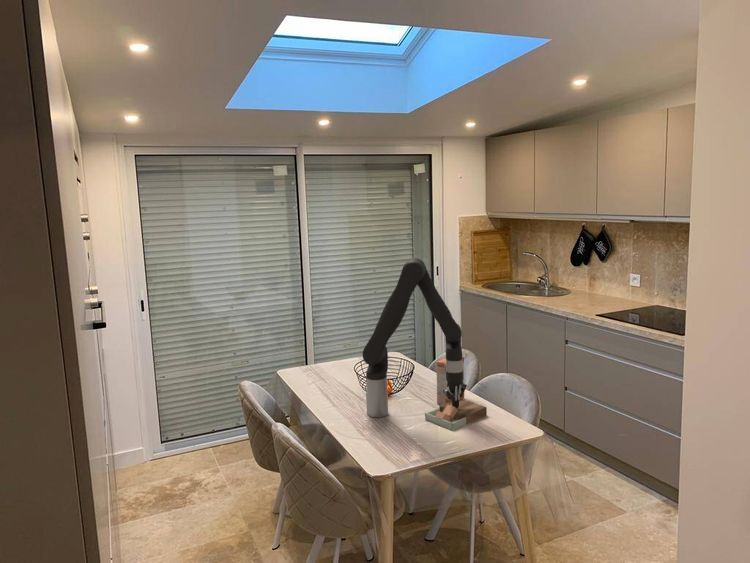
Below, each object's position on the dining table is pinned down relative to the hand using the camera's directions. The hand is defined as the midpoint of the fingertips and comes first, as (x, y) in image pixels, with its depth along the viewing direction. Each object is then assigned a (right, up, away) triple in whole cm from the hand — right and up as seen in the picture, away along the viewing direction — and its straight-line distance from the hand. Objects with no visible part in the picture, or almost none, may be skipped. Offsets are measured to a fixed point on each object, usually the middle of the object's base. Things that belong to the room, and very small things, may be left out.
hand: (455, 407), depth 237 cm
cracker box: (+1, -2, +21) cm, 21 cm away
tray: (-5, -5, -3) cm, 8 cm away
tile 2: (-2, -2, -2) cm, 3 cm away
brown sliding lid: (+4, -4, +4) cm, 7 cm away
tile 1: (-5, -2, -4) cm, 7 cm away
